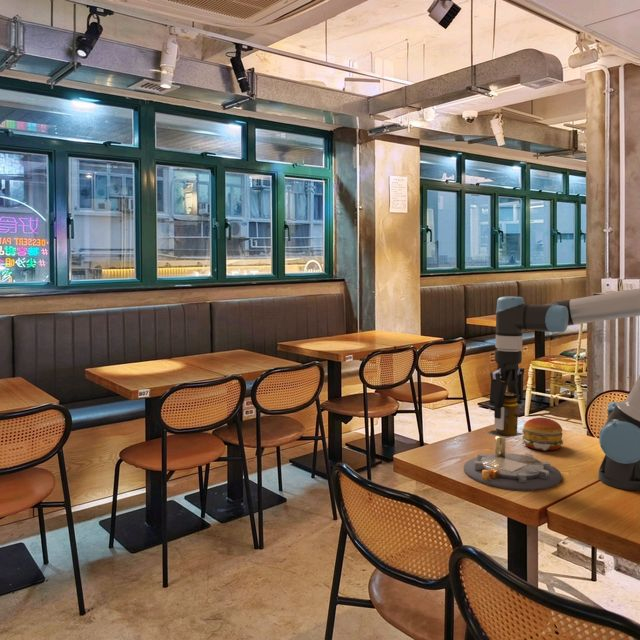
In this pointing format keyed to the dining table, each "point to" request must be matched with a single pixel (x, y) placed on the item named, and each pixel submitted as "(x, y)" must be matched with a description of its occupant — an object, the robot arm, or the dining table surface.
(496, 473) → the grey disc with blocks
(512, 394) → the condiment
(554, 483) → the base
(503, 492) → the dining table surface
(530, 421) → the burger
